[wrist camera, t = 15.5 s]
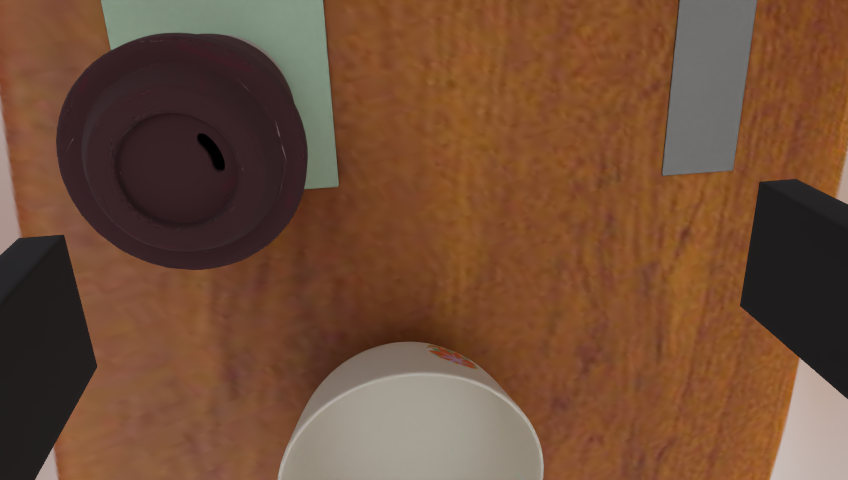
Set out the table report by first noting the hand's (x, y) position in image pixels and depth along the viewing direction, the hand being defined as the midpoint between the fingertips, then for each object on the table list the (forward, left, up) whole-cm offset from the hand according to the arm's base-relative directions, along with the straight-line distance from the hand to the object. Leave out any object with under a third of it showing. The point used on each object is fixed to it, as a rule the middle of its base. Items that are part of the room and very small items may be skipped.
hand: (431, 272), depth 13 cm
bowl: (+24, +1, -31) cm, 39 cm away
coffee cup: (+2, -8, -30) cm, 31 cm away
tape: (+2, +22, -31) cm, 38 cm away
